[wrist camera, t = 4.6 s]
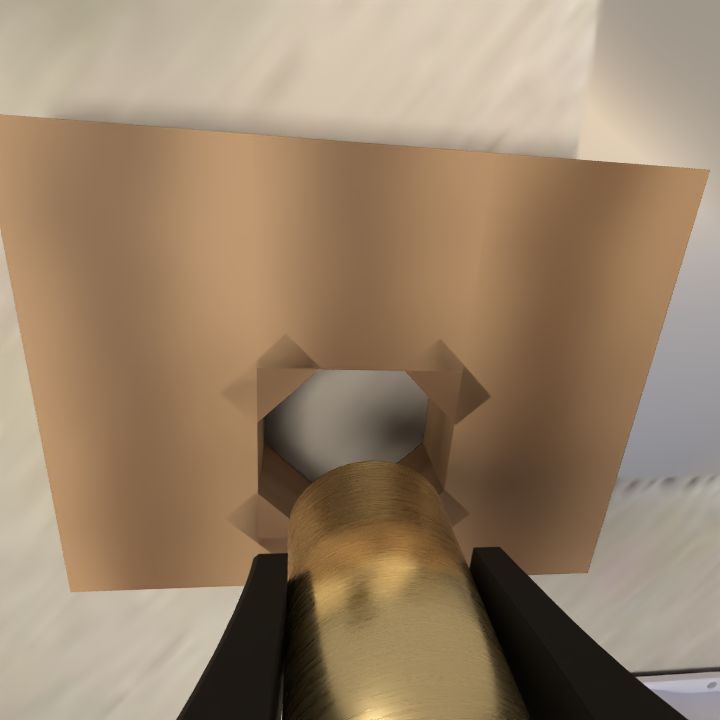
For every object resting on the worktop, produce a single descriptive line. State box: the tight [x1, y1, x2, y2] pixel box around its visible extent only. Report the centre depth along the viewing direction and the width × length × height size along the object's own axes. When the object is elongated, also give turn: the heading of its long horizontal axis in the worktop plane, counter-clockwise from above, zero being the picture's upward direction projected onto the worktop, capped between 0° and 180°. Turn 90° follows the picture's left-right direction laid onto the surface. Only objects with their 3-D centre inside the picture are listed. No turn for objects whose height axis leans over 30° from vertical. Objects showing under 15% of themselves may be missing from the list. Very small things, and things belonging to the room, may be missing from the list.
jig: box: [0, 114, 710, 592], centre depth 16 cm, size 18×14×3 cm
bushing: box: [282, 461, 531, 720], centre depth 10 cm, size 4×4×6 cm
